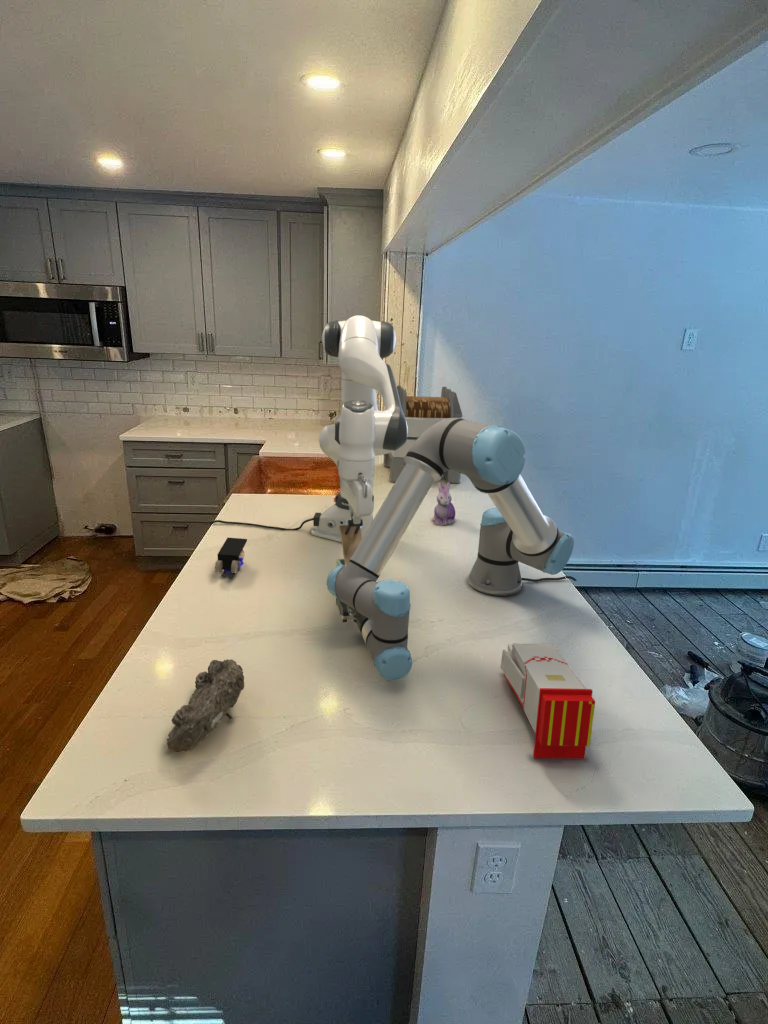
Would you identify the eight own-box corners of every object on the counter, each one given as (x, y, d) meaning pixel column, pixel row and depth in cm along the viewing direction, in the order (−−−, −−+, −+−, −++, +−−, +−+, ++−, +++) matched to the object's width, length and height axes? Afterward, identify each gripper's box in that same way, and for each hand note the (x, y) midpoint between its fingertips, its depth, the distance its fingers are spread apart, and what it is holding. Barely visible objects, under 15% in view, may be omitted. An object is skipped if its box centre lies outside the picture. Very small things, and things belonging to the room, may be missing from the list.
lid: (339, 527, 151) (344, 513, 144) (358, 525, 152) (364, 512, 145) (347, 581, 144) (353, 569, 137) (368, 579, 146) (374, 567, 139)
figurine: (440, 527, 207) (443, 488, 202) (426, 518, 215) (428, 480, 210) (462, 524, 211) (465, 485, 206) (446, 515, 220) (450, 478, 215)
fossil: (192, 660, 117) (244, 628, 112) (224, 691, 120) (276, 661, 115) (142, 746, 98) (202, 712, 93) (182, 779, 101) (242, 748, 96)
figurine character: (238, 584, 162) (249, 557, 175) (236, 562, 158) (247, 536, 172) (215, 584, 161) (227, 556, 175) (212, 561, 158) (225, 535, 171)
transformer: (382, 463, 289) (386, 382, 275) (445, 464, 293) (451, 384, 279) (390, 482, 257) (394, 392, 243) (460, 483, 261) (468, 394, 247)
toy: (549, 626, 126) (605, 697, 97) (544, 681, 129) (596, 766, 100) (495, 625, 126) (534, 696, 96) (491, 680, 128) (528, 765, 99)
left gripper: (379, 479, 131) (377, 535, 135) (359, 458, 149) (358, 507, 154) (353, 480, 129) (351, 537, 134) (336, 458, 148) (335, 508, 152)
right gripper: (336, 647, 127) (319, 598, 148) (414, 638, 132) (386, 592, 153) (337, 618, 125) (319, 572, 146) (416, 610, 130) (388, 567, 151)
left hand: (355, 521), depth 144 cm, fingers closed
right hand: (354, 582), depth 150 cm, fingers closed on chest, 5 cm apart
